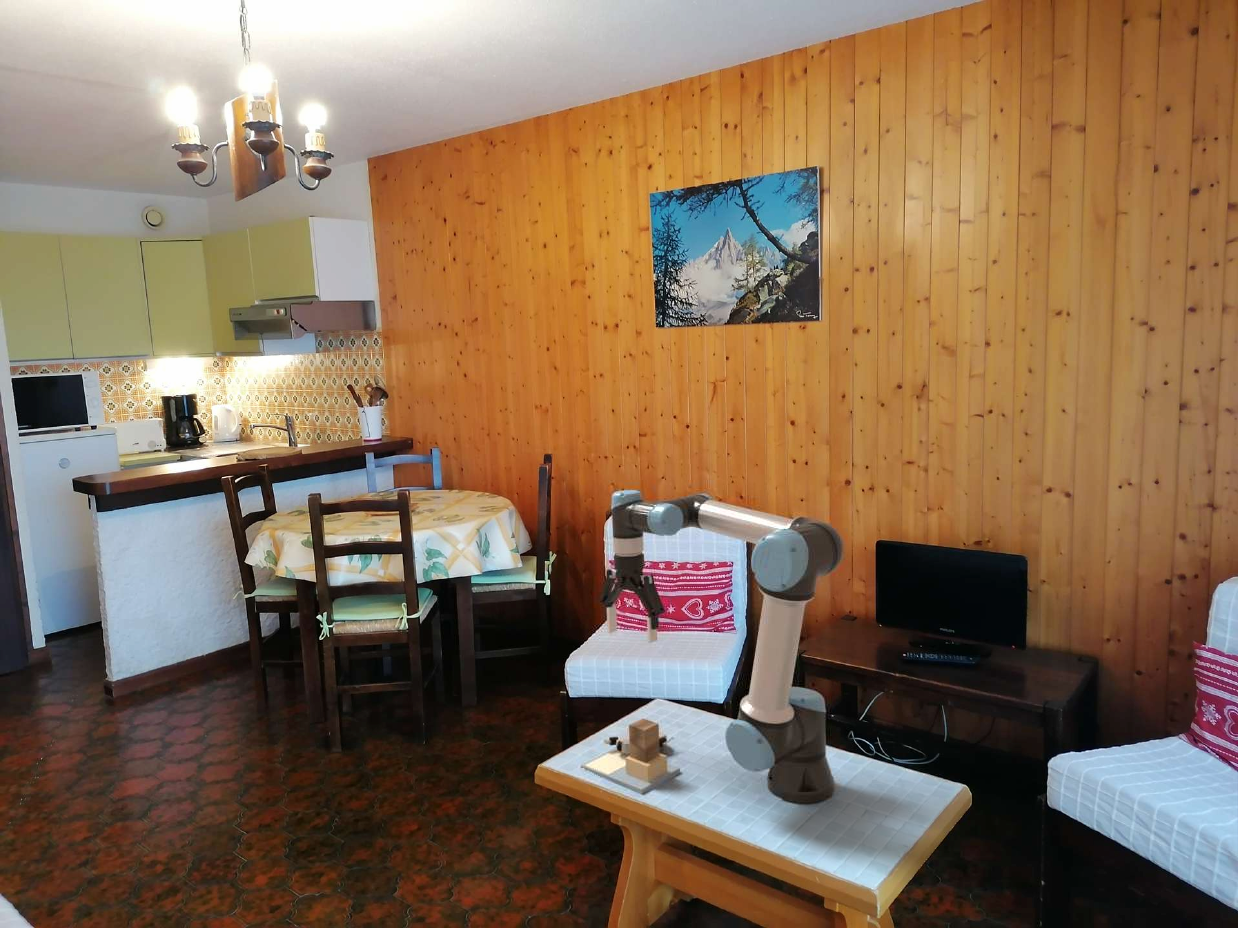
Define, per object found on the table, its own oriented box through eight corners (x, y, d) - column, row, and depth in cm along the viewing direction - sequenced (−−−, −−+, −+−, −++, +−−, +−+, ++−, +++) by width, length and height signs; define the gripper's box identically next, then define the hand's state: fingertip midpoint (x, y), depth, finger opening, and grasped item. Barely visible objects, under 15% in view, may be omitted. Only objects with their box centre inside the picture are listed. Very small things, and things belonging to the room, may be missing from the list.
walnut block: (659, 755, 209) (658, 723, 208) (645, 762, 206) (644, 730, 205) (644, 749, 213) (643, 718, 212) (630, 756, 209) (628, 724, 208)
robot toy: (635, 765, 213) (675, 751, 224) (635, 747, 213) (675, 733, 224) (599, 751, 222) (639, 738, 233) (600, 734, 222) (640, 721, 232)
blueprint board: (680, 772, 211) (679, 751, 211) (641, 794, 201) (640, 772, 201) (619, 749, 225) (619, 730, 225) (580, 769, 215) (579, 749, 214)
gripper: (677, 556, 211) (680, 641, 213) (603, 544, 228) (606, 624, 230) (657, 562, 205) (660, 649, 208) (582, 549, 222) (586, 631, 225)
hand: (632, 636), depth 219 cm, fingers open, 13 cm apart
